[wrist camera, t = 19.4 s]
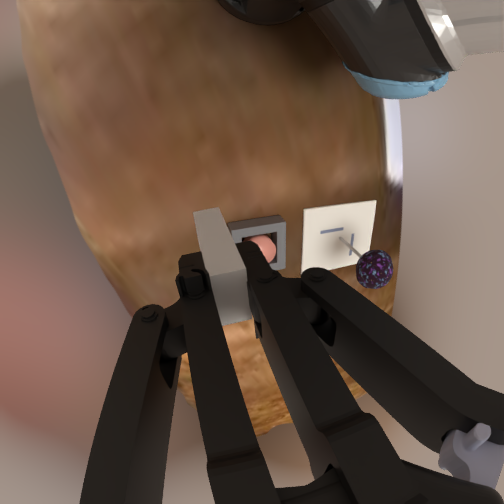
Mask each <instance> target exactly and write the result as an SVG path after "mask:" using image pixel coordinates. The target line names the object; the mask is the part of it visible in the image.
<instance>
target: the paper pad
mask: <svg viewBox="0 0 504 504" xmlns="http://www.w3.org/2000/svg"><path fill="white" fill-rule="evenodd" d="M375 208H376V200H370V201H361V202H353V203H345V204H337V205H329V206H321V207H314V208H307V209H303V236H302V259H301V274H302V272H303V271H305V270H306V269H308V268H312V267H320V268H325V269H327V270H331V269H335V268H340V267H344V266H348V265H352V264H357V262H358V260H359V257H358V256H357V255H356V254H355V253H354V252H353V251H352V250H350V249H349V248H348V247H347V246H346V245H345V244H344V243H343V242H342V241H340V240H339V237H342V238H343V239H344V240H346V241H347V242H348V243H349V244H350V245H351V246H352V247H353V248H355V249H356V250H357V251H358V252H359V253H360V254H361V255H363V254H364V253H366V252H368V251H369V249H370V243H371V236H372V230H373V223H374V216H375Z"/></svg>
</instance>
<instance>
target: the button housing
mask: <svg viewBox="0 0 504 504" xmlns="http://www.w3.org/2000/svg"><path fill="white" fill-rule="evenodd" d="M228 229H229V232H230V234H231V236H232V238H233V241H234V243H240V242H242V237H248V236H254V235H260V234H266V233H271V239H272V242H273V243H274V245H275V247H276V254H275V256H274V258H273V260H272V261H271V262H269V265H270V266H271V268H272V269H273V270H279V269H284V268H285V255H286V222H285V220H284V219H283V218H282V217H281V216H280V215H276V216H269V217H263V218H256V219H250V220H243V221H237V222H231V223H228Z"/></svg>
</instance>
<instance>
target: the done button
mask: <svg viewBox="0 0 504 504" xmlns="http://www.w3.org/2000/svg"><path fill="white" fill-rule="evenodd" d="M250 240H251V241H253V242H255V243H256V244H258V246H259V248H260V249H261V251H262V253H263V255H264V256H265V258H266V260H267V261H268V263H269V262H271V261H272V260H273V258H274V256H275V254H276V247H275V245H274V243H273V242H272V240H271V239H270V238H269V236H268V235H267V234H260V235H254V236H248V237H246V238H245V239H244V241H243V242H245V241H250Z"/></svg>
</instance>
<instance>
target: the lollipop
mask: <svg viewBox="0 0 504 504" xmlns="http://www.w3.org/2000/svg"><path fill="white" fill-rule="evenodd" d="M339 240H340V241H342V242H343V243H344V244H345V245H346V246H347V247H348V248H349V249H350V250H352V251H353V252H354V253H355V254H356V255H357V256H358V257H359V260H358V262H357V265H356V277H357V280H358V282H359V283H360V284H361V285H362V286H363V287H365V288H372V289H377V288H381V287H383V286H385V285H386V284H387V283H388V282H389V281H390V279H391V277H392V274H393V264H392V260H391V257H390V256H389V255H388V254H387V253H386V252H385V251H382V250H371V251H368V252H366V253H364V254H363V255H361V254H360V253H359V252H358V251H357V250H356V249H355V248H353V247H352V246H351V245H350V244H349V243H348V242H347V241H346V240H344V239H343V238H342V237H339Z"/></svg>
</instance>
